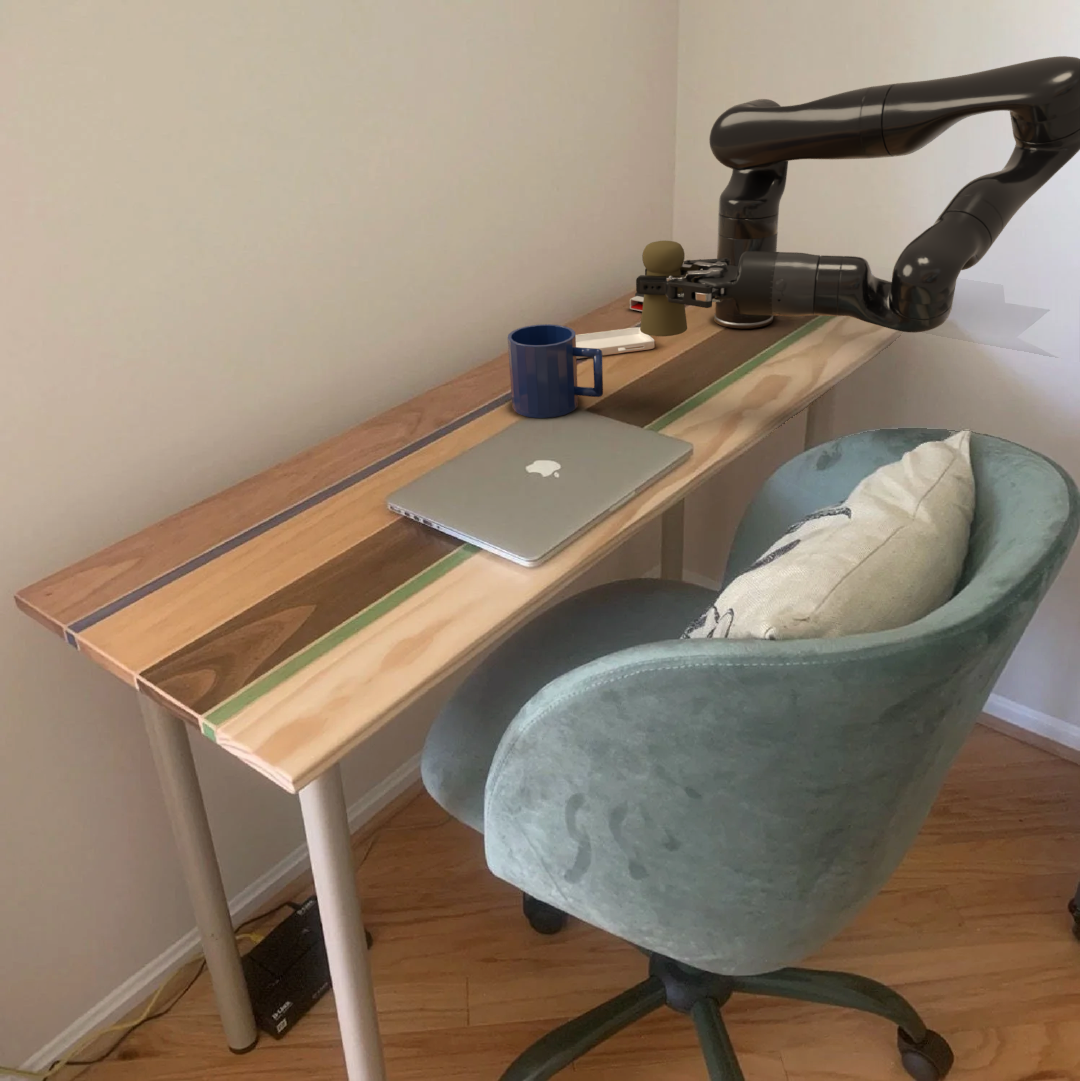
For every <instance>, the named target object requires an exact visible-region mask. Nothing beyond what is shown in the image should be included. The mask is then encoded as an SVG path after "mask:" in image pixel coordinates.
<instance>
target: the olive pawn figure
mask: <svg viewBox="0 0 1080 1081" xmlns="http://www.w3.org/2000/svg"><path fill="white" fill-rule="evenodd" d="M685 254H686V253H685V249H684V247H683V245H681V243H679V242H677V241H673V240H656V241H653V242H650V243H648V244H647V245H646V246H644V249H643V250H642V255H641V256H642V264H643V267H645V269H647V275H650V276H670V275H672V276H679V275H681V274H680V268H681V266H682V265H683V264H684V261H685ZM678 291H683V289H682V288H678ZM639 327H640V330H641V332H642V333H644V334H647V335H650V336H651V337H672V336H673V337H674V336H677V335H680V334H684V333H685V332H686V331H687V330H688V321H687V315H686V305H685V304H678V303H671V302H668V298H667V297H666V295H647V294H644V300H643V309H642V311H641V318H640V326H639Z"/></svg>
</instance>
